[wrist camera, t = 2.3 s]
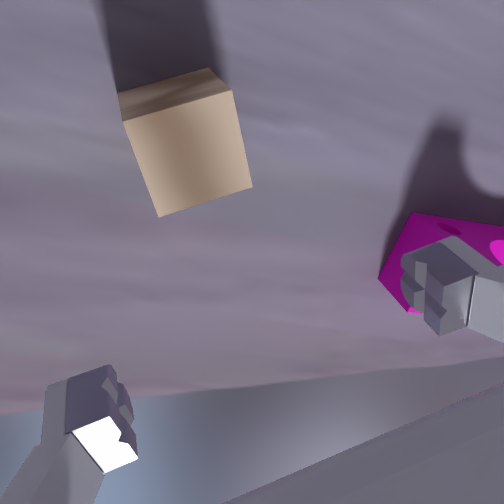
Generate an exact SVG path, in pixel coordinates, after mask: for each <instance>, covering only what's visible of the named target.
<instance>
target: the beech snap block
mask: <svg viewBox="0 0 504 504" xmlns="http://www.w3.org/2000/svg"><path fill="white" fill-rule="evenodd" d="M117 95H118V101H119V106H120V111H121V116H122V121H123V124H124V127H125V129H126V132H127V135H128V137H129V140H130V142H131V145H132V148H133V150H134V153H135V156H136V158H137V161H138V164H139V166H140V169H141V172H142V174H143V177H144V180H145V182H146V185H147V188H148V190H149V193H150V195H151V198H152V201H153V203H154V206H155V209H156V211H157V214H158V217H161V216H164V215H167V214H171V213H174V212H177V211H180V210H183V209H186V208H189V207H192V206H195V205H199V204H202V203H205V202H208V201H211V200H214V199H217V198H220V197H223V196H226V195H230V194H233V193H236V192H239V191H242V190H245V189H248V188H251V187H252V182H251V178H250V173H249V168H248V163H247V159H246V154H245V149H244V145H243V140H242V135H241V131H240V126H239V121H238V117H237V112H236V107H235V102H234V98H233V93H232V90H231V89H230V88H229V87H228V86H227V85H226V84H225V83H224V82H223V81H222V80H221V79H220V78H219V77H218V76H217V75H216V74H215V73H214V72H213V71H212V70H211V69H210V68H209V67H208V68H204V69H201V70H197V71H194V72H190V73H187V74H183V75H179V76H176V77H172V78H169V79H165V80H162V81H158V82H155V83H151V84H147V85H144V86H140V87H137V88H133V89H130V90H126V91H123V92H119V93H117Z"/></svg>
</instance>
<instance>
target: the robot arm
mask: <svg viewBox="0 0 504 504" xmlns="http://www.w3.org/2000/svg"><path fill="white" fill-rule="evenodd" d="M401 267H402V268H403V269H404V270H405V272H404V274H403V276H402V277H401V289H402V292H403V295H404V298H405V299H406V301H407V302H408V304H409V305H410V306H411V307H412V308H413V309H414V310H417V311H420V312H423V313H424V321H425V322H426V323H427V324H428V325H429V326H430V327H431V328H432V329H433V331H434V332H435V333H436V334H437V335H438V336H442V335H445V334H447V333H450V332H453V331H455V330H458V329H461V328H463V327H466V326H468V327H467V328H470V329H472V330H474V331H477V332H479V333H481V334H483V335H486V336H488V337H490V338H493V339H495V340H497V341H499V342H502V343H504V265H501V266H498V267H497V266H496V265H495V264H493V263H492V262H491V261H489V260H488V259H486V258H485V257H484V256H482V255H481V254H480V253H478V252H477V251H476V250H474V249H473V248H472V247H470V246H469V245H468V244H466V243H465V242H463V241H462V240H461V239H459V238H458V237H456V236H450V237H447V238H445V239H442V240H440V241H437V242H435V243H432V244H429V245H427V246H424V247H422V248H419V249H416V250H414V251H411V252H408V253H406V254H403V256H402V258H401ZM133 420H134V416H133V408H132V405H131V402H130V397H129V395H128V393H127V390H126V389H125V387H124V385H123V384H121V383H118V382H117V375H116V372H115V370H114V369H113V367H112V366H111V365H105V366H102V367H99V368H96V369H94V370H91V371H88V372H85V373H82V374H79V375H76V376H73V377H70V378H69V379H66V380H63V381H60V382H57V383H54V384H51V385H49V386H48V388H47V390H46V392H45V402H44V414H43V424H42V435H41V444H40V445H38V446H35V447H34V448H33V450H32V451H31V453H30V454H29V456H28V457H27V459H26V460H25V462H24V463H23V465H22V466H21V468H20V469H19V471H18V472H17V474H16V475H15V477H14V478H13V480H12V481H11V483H10V484H9V486H8V487H7V489H6V490H5V492H4V493H3V495H2V496H1V498H0V504H93V503H94V500H95V498H96V496H97V493H98V491H99V488H100V486H101V484H102V481H103V479H104V476H105V475H104V473H106V472H108V471H111V470H113V469H115V468H117V467H120V466H122V465H125V464H127V463H129V462H131V461H134V460H136V459H138V453H137V443H136V434H135V433H134V431H133V430H132V428H131V424H132V422H133ZM223 504H504V382H503V383H500V384H498V385H496V386H494V387H491V388H489V389H486V390H484V391H482V392H479V393H478V394H475V395H473V396H470V397H468V398H466V399H463V400H461V401H459V402H457V403H454V404H452V405H449V406H447V407H445V408H443V409H440V410H438V411H436V412H433V413H431V414H429V415H426V416H424V417H422V418H419V419H417V420H415V421H412V422H410V423H408V424H405V425H403V426H401V427H399V428H396V429H394V430H392V431H389V432H387V433H385V434H383V435H380V436H378V437H375V438H373V439H371V440H369V441H366V442H364V443H362V444H360V445H357V446H355V447H352V448H350V449H348V450H345V451H343V452H341V453H338V454H336V455H334V456H332V457H329V458H327V459H325V460H322V461H320V462H318V463H315V464H313V465H311V466H308V467H306V468H304V469H301V470H299V471H297V472H294V473H292V474H290V475H287V476H285V477H283V478H280V479H278V480H276V481H274V482H271V483H269V484H267V485H264V486H262V487H260V488H257V489H255V490H253V491H250V492H248V493H246V494H243V495H241V496H239V497H236V498H234V499H232V500H230V501H227V502H225V503H223Z"/></svg>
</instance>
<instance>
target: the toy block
mask: <svg viewBox="0 0 504 504" xmlns="http://www.w3.org/2000/svg"><path fill="white" fill-rule="evenodd" d="M450 236H456V237H458V238H459V239H461V240H462V241H463V242H465V243H466V244H468V245H469V246H470V247H472V248H473V249H474V250H476V251H477V252H478V253H480V254H481V255H482V256H484V257H485V258H486V259H488V260H489V261H491V262H492V263H493V264H495V265H496V266H497V267H498V266H501V265H504V227H501V226H495V225H489V224H482V223H476V222H470V221H464V220H457V219H451V218H445V217H439V216H432V215H426V214H420V213H414V212H412V213H411V215H410V217H409V218H408V220H407V222H406V224H405V226H404V228H403V230H402V232H401V234H400V236H399V238H398V240H397V242H396V244H395V246H394V248H393V250H392V252H391V254H390V256H389V258H388V260H387V262H386V263H385V265H384V267H383V269H382V271H381V273H380V275H379V277H378V280H379V281H380V282H381V283H382V284H383V285H384V286H385V288H386V289H387V290H388V291H389V292H390V293H391V294H392V296H393V297H394V298H395V299H396V300H397V301H398V302H399V303H400V305H401V306H402V307H403V308H404V309H405V310H406V311H407V312H413V313H423V312H420V311H417V310H414V309H413V308H412V307H411V306H410V305H409V304H408V302H407V301H406V299H405V298H404V295H403V292H402V289H401V277H402V276H403V274H404V272H405V270H404V269H403V268H402V267H401V258H402V256H403V254H406V253H408V252H411V251H414V250H416V249H419V248H422V247H424V246H427V245H429V244H432V243H435V242H437V241H440V240H442V239H445V238H447V237H450Z"/></svg>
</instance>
